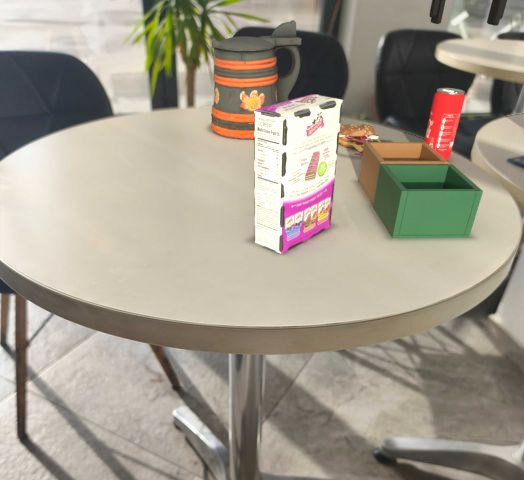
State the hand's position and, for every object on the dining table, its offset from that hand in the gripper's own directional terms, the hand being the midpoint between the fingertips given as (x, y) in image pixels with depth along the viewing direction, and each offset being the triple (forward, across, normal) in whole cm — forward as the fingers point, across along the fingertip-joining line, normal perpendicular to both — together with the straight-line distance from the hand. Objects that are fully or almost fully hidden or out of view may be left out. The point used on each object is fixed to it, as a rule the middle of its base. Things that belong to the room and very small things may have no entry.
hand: (463, 23), depth 81 cm
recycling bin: (+22, +12, +30) cm, 39 cm away
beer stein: (+22, +33, -19) cm, 44 cm away
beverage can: (+22, 0, +1) cm, 22 cm away
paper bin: (+22, +12, +19) cm, 31 cm away
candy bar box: (+22, +31, +34) cm, 51 cm away
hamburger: (+22, +13, -6) cm, 26 cm away
